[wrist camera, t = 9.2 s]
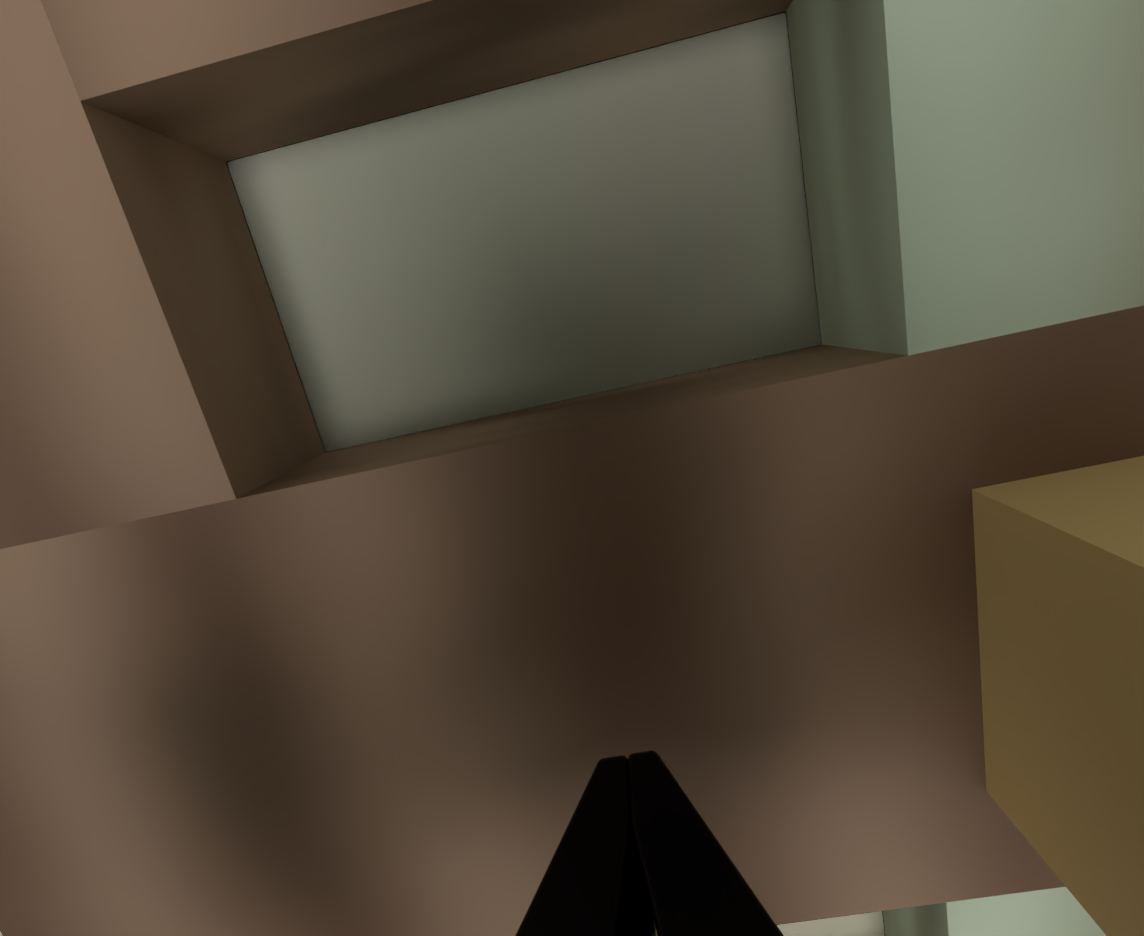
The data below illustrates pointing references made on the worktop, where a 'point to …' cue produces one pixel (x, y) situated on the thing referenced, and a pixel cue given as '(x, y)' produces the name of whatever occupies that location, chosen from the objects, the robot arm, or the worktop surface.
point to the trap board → (533, 484)
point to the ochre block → (1068, 675)
